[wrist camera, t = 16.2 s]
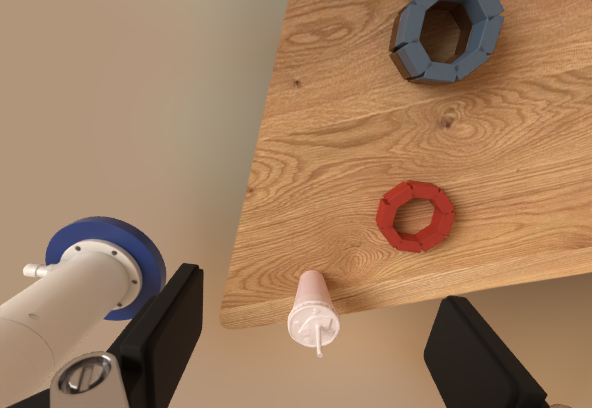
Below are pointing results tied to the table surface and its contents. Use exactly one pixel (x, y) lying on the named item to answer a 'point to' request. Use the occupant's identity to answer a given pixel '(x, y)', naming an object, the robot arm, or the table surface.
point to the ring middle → (486, 29)
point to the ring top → (428, 235)
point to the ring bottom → (466, 30)
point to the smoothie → (313, 313)
